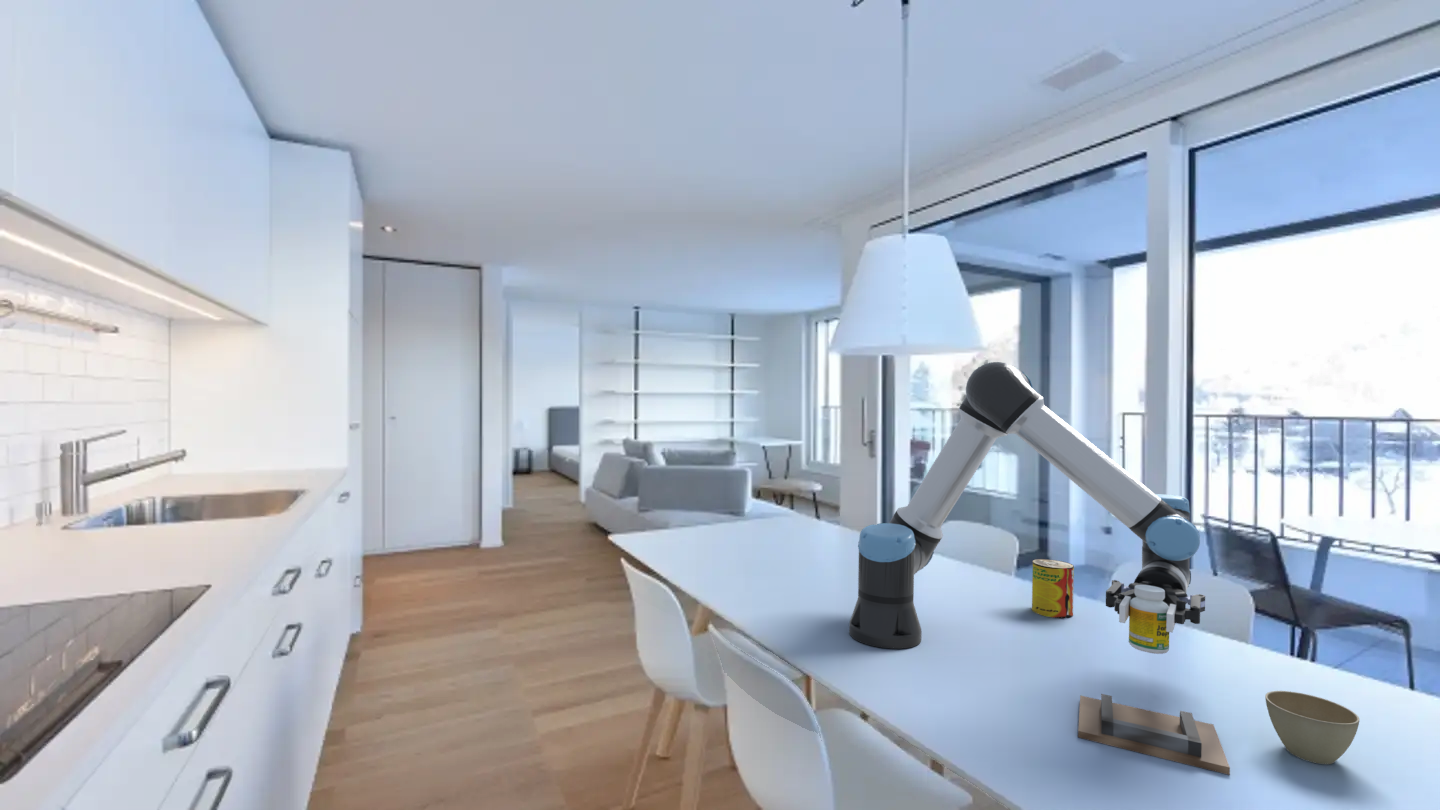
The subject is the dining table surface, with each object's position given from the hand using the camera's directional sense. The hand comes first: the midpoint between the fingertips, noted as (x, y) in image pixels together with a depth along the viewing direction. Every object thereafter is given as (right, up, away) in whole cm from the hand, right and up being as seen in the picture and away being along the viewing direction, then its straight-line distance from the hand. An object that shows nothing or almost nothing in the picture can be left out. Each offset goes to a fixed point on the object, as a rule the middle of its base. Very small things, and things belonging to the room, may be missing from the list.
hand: (1145, 618), depth 96 cm
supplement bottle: (+3, -6, +4) cm, 8 cm away
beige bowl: (+21, -18, -5) cm, 28 cm away
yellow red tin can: (+17, -19, +59) cm, 64 cm away
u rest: (0, -18, 0) cm, 18 cm away
